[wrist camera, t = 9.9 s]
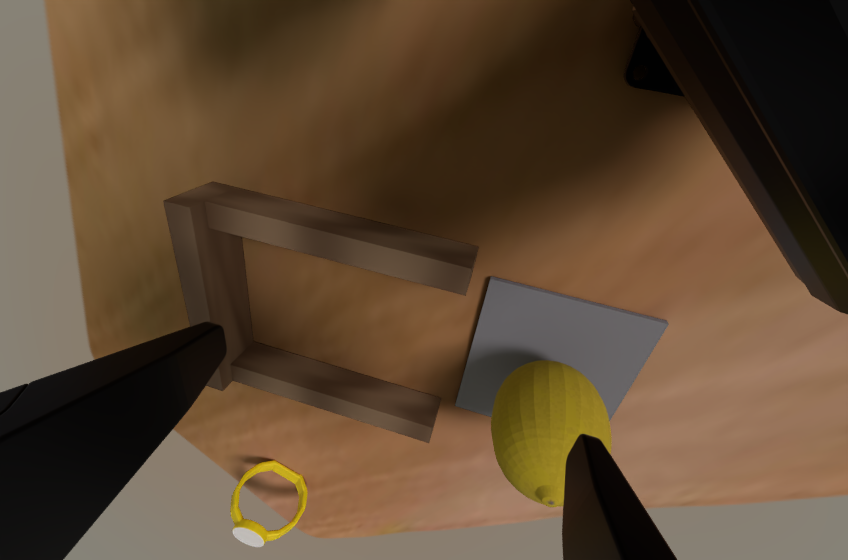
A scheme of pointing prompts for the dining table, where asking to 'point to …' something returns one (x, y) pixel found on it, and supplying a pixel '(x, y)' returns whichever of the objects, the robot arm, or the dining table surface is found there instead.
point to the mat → (554, 342)
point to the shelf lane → (319, 236)
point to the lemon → (544, 426)
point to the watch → (252, 530)
